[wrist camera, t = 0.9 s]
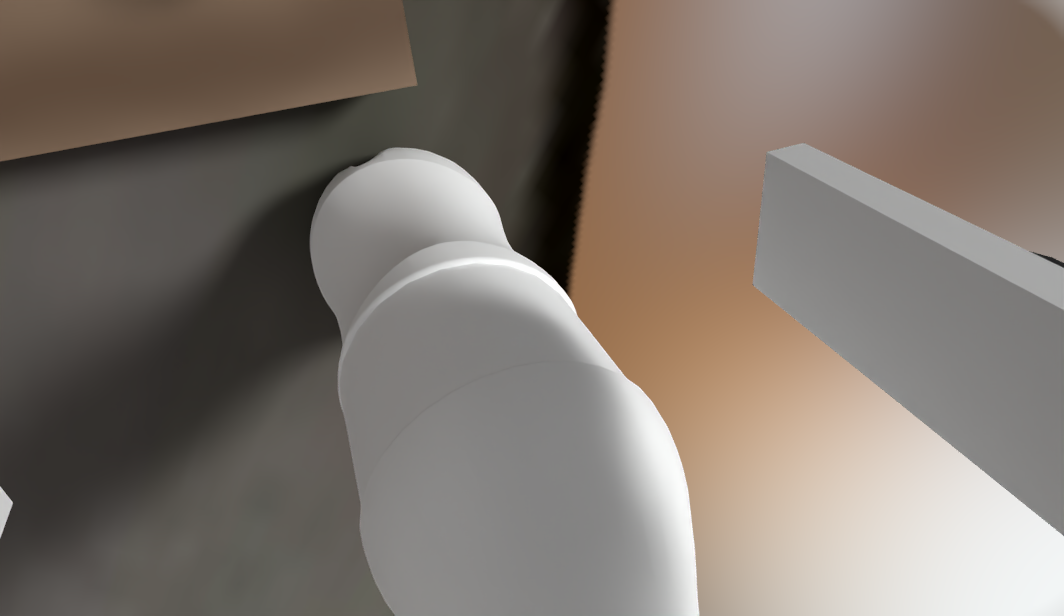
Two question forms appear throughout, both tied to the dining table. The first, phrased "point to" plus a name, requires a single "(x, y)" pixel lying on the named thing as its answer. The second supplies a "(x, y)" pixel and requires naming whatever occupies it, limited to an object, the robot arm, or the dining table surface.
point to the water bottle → (489, 414)
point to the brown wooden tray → (184, 64)
